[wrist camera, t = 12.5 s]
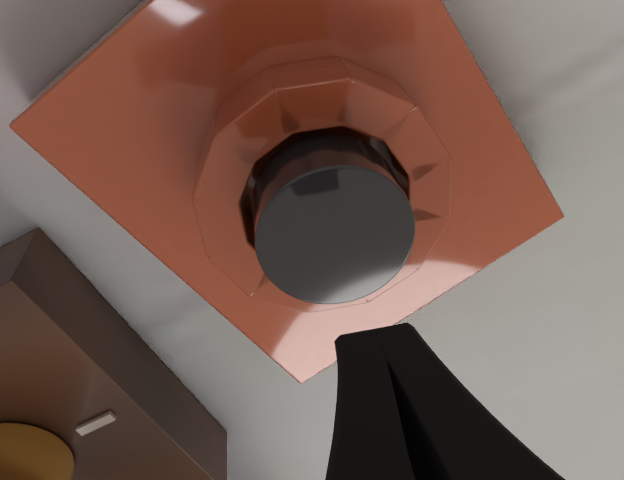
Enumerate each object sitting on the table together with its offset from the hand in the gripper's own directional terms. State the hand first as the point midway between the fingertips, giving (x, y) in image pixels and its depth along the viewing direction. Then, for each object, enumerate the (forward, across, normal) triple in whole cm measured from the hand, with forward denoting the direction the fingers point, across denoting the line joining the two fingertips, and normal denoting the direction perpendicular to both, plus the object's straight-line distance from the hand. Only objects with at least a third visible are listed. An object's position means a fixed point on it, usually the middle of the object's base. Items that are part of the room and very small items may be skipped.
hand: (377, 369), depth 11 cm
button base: (+10, 0, 0) cm, 10 cm away
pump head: (+6, 0, 0) cm, 6 cm away
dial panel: (+10, +12, +8) cm, 18 cm away
